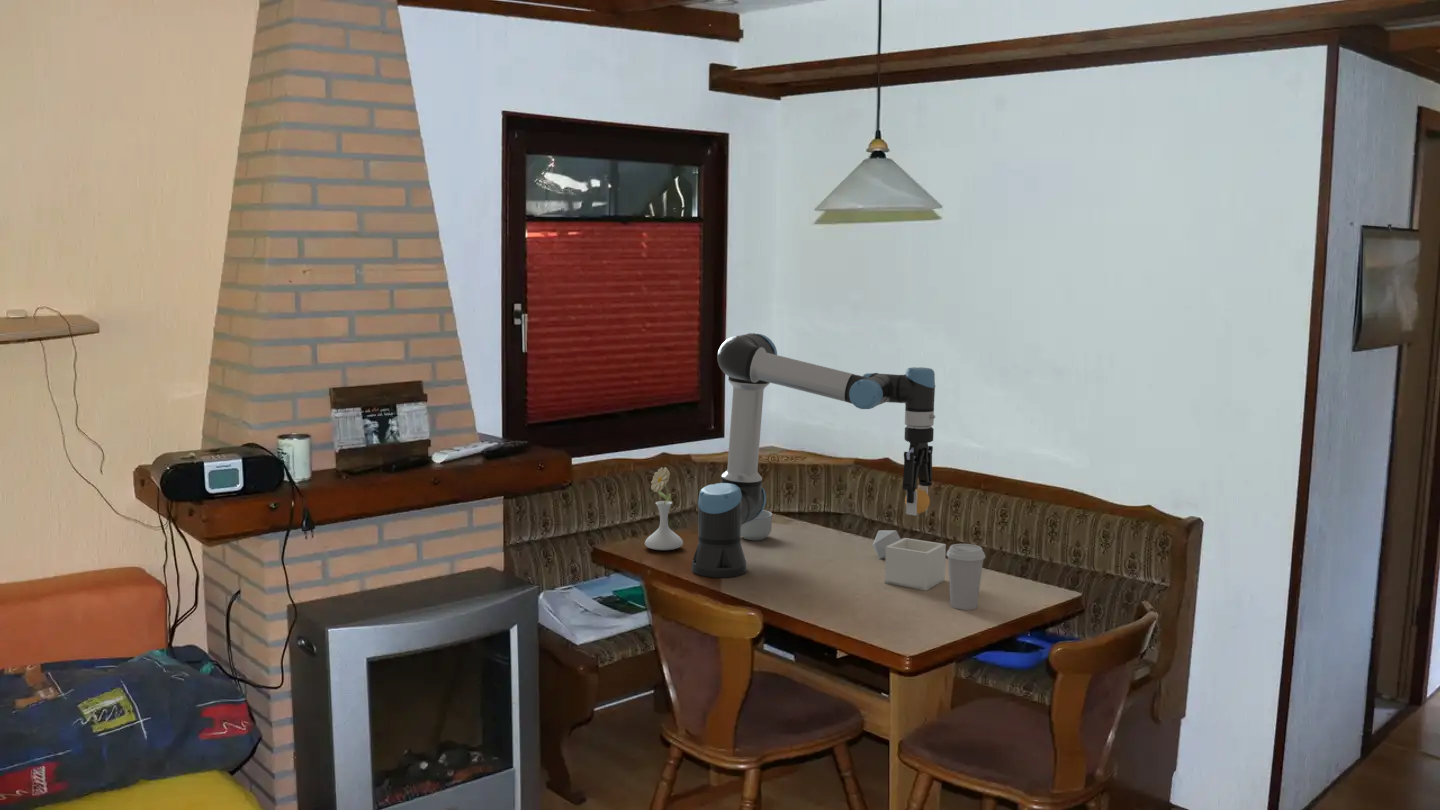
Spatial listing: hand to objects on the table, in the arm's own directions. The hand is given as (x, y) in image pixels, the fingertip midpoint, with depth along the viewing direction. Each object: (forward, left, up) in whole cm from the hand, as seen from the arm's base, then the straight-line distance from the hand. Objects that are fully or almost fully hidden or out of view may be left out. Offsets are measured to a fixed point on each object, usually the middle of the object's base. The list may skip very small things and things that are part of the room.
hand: (916, 512), depth 312 cm
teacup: (+16, +62, -19) cm, 67 cm away
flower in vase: (-11, +75, -19) cm, 78 cm away
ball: (0, 0, 0) cm, 0 cm away
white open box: (0, 0, -19) cm, 19 cm away
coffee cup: (-13, -19, -19) cm, 30 cm away
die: (+19, +17, -19) cm, 32 cm away
